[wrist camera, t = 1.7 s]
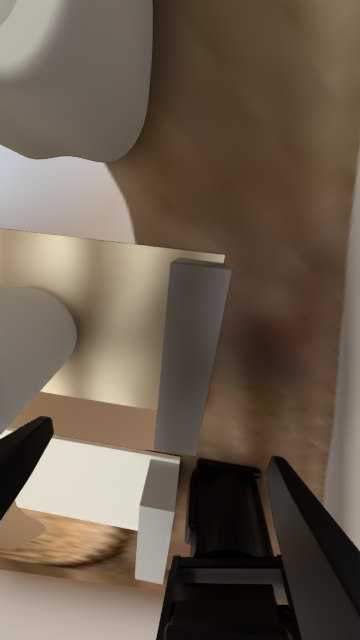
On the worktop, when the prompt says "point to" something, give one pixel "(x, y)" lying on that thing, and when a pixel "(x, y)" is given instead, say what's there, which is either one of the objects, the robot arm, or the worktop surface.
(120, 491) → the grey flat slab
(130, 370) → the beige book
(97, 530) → the worktop surface
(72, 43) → the lumpy-topped squat cylinder
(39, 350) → the cup
